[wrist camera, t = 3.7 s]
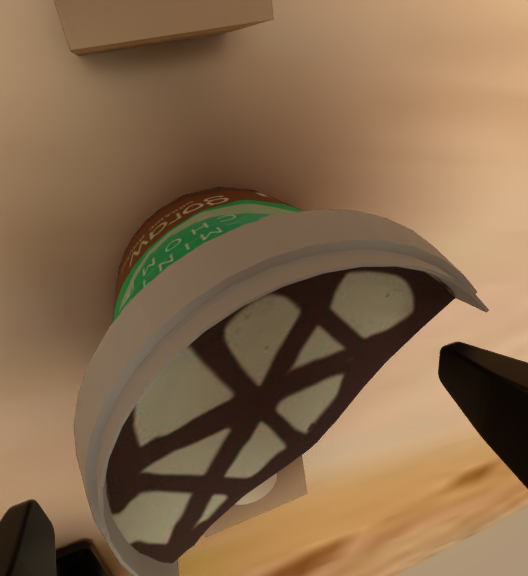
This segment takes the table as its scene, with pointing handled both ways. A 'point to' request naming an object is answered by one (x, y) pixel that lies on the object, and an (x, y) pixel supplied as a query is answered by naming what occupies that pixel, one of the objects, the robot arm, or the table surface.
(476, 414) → the robot arm
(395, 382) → the table surface
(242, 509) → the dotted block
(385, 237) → the food container
